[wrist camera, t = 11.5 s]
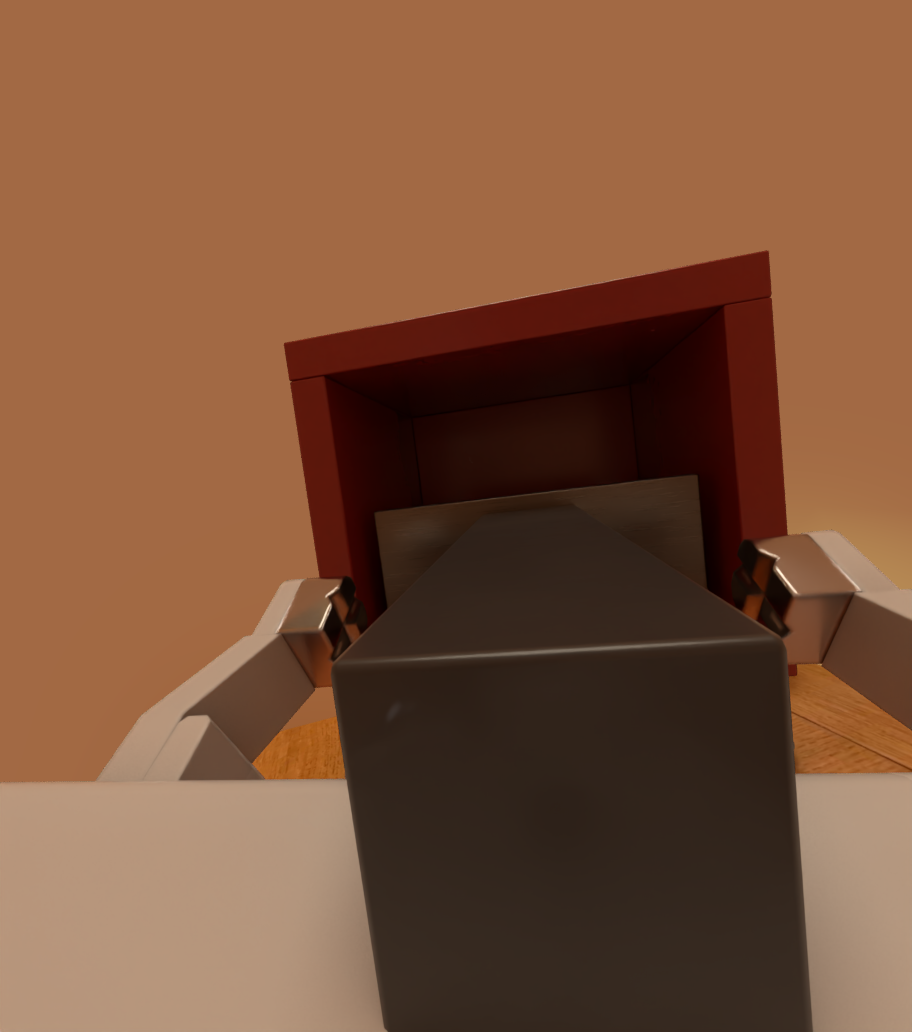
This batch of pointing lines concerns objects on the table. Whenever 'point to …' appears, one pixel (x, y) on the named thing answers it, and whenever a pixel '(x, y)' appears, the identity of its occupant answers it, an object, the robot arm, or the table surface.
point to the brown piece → (572, 774)
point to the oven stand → (548, 409)
